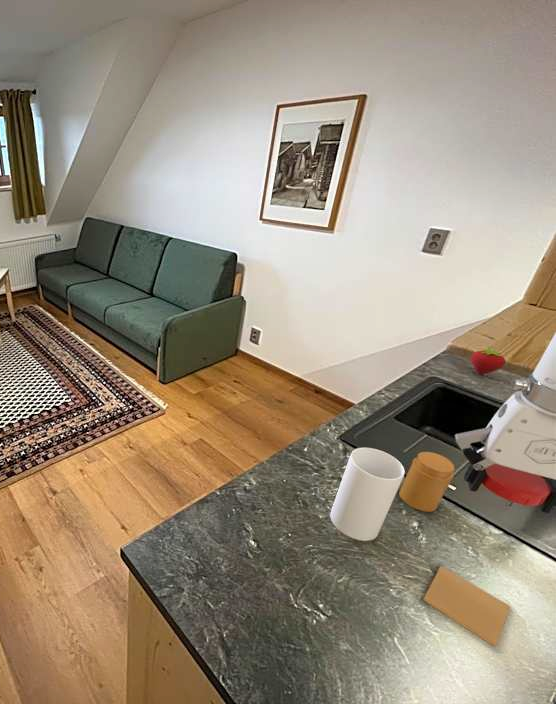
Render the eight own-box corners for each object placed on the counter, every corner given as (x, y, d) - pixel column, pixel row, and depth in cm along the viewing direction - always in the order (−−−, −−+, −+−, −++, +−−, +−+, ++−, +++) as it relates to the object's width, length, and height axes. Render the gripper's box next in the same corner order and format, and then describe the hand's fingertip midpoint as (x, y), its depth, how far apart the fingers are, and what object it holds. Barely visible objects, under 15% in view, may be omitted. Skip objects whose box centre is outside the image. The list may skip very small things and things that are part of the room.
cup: (331, 500, 85) (350, 442, 77) (377, 515, 81) (403, 456, 73) (328, 529, 79) (350, 469, 71) (379, 547, 75) (407, 486, 67)
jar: (441, 500, 83) (461, 462, 78) (431, 517, 80) (451, 478, 75) (405, 482, 88) (421, 445, 83) (394, 497, 84) (410, 460, 79)
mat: (509, 607, 65) (510, 606, 64) (495, 647, 60) (496, 645, 60) (439, 567, 71) (440, 565, 71) (422, 600, 66) (423, 598, 66)
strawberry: (495, 383, 119) (510, 353, 114) (462, 373, 124) (475, 345, 119) (498, 375, 122) (513, 346, 117) (466, 366, 127) (479, 338, 122)
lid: (482, 493, 58) (488, 484, 57) (474, 463, 63) (479, 454, 62) (551, 513, 55) (558, 504, 54) (536, 479, 60) (542, 470, 59)
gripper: (482, 393, 53) (433, 489, 61) (690, 435, 44) (600, 540, 53) (472, 368, 58) (428, 459, 67) (656, 400, 50) (579, 500, 58)
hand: (505, 494), depth 60 cm, fingers closed on lid, 7 cm apart
